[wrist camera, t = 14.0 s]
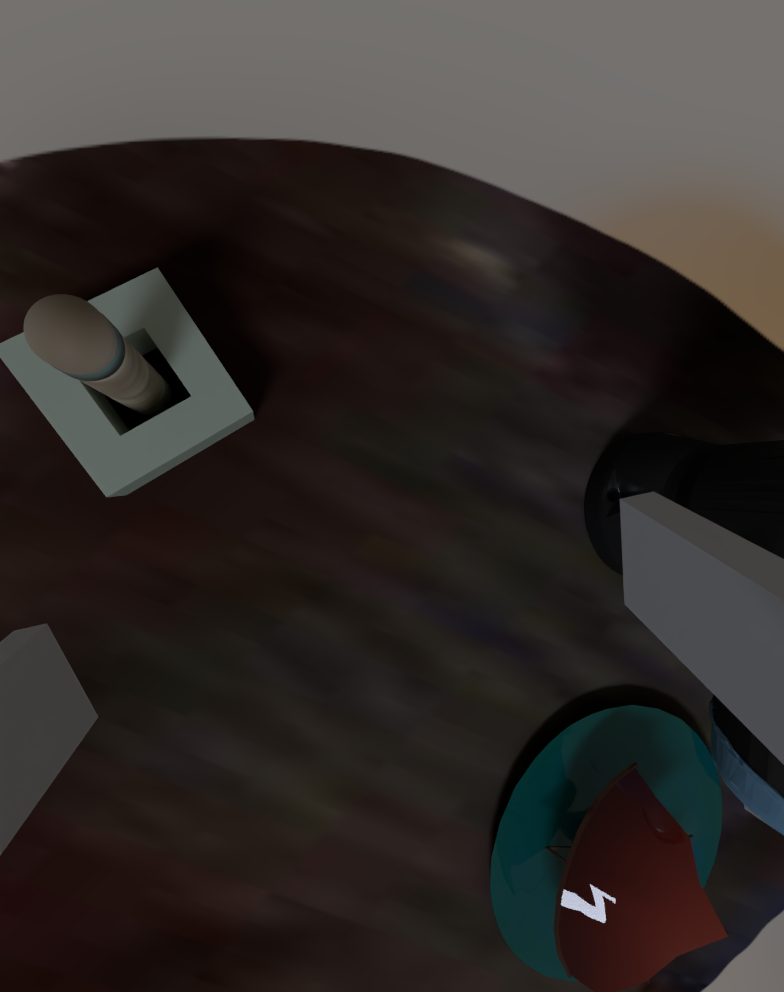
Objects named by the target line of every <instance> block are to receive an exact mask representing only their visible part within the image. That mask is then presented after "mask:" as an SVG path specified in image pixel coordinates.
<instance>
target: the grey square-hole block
mask: <svg viewBox="0 0 784 992" xmlns="http://www.w3.org/2000/svg"><path fill="white" fill-rule="evenodd" d="M87 302H89V303H90V304H92V305H93V306H94V307H95V308H96V309H97V310H98V311H99V312H101V313H102V314H103V315H104V316H105V317H106V318H107V319H108V320H109V321H110V322H111V323H112V324H113V325H114V326H115V327H116V328H117V329H118V331H119V332H120V334H121V335H122V336H123V337H124V338H125V339H126V340H127V341H128V342H129V343H130V344H131V345H132V346H133V347H134V348H135V349H136V350H137V351H138V352H139V353H140V355H141V356H142V355H144V354H146V353H148V352H150V351H152V350H154V349H156V348H159V350H160V351H161V353H162V354H163V356H164V357H165V358H166V360H167V361H168V363H169V364H170V366H171V367H172V369H173V370H174V372H175V373H176V374H177V376H178V377H179V379H180V380H181V382H182V383H183V385H184V386H185V388H186V389H187V390H188V392H189V393H190V395H191V397H189V398H187V399H186V400H184V401H182V402H180V403H178V404H177V405H175V406H173V407H171V408H169V409H168V410H166V411H164V412H162V413H161V414H159V415H157V416H155V417H153V418H152V419H150V420H148V421H146V422H144V423H143V424H141V425H139V426H137V427H135V428H134V429H132V430H129V428H128V427H127V426H126V424H125V423H124V422H123V420H122V419H121V417H120V416H119V415H118V413H117V412H116V411H115V409H114V408H113V406H112V405H111V404H110V402H109V401H108V400H107V398H106V397H105V395H104V394H103V393H101V392H99V391H98V390H96V389H94V388H92V387H90V386H88V385H87V384H85V383H83V382H81V381H79V380H78V379H75V378H72V377H70V376H68V375H66V374H64V373H63V372H61V371H59V370H57V369H55V368H54V367H53V366H51V365H50V364H49V363H47V362H45V361H43V360H42V359H41V358H39V357H38V356H37V355H36V354H35V353H34V352H33V351H32V350H31V348H30V347H29V345H28V343H27V341H26V338H25V335H24V332H23V333H21V334H19V335H17V336H15V337H13V338H11V339H9V340H6V341H4V342H2V343H0V358H1V359H2V360H3V362H4V363H5V364H6V366H7V367H8V368H9V370H10V371H11V372H12V374H13V375H14V376H15V378H16V379H17V380H18V381H19V383H20V384H21V385H22V387H23V388H24V389H25V391H26V392H27V393H28V395H29V396H30V397H31V399H32V400H33V401H34V402H35V404H36V405H37V406H38V408H39V409H40V410H41V412H42V413H43V414H44V416H45V417H46V418H47V420H48V421H49V422H50V424H51V425H52V426H53V427H54V429H55V430H56V431H57V433H58V434H59V435H60V437H61V438H62V439H63V441H64V442H65V443H66V445H67V446H68V447H69V449H70V450H71V451H72V452H73V454H74V455H75V456H76V458H77V459H78V460H79V462H80V463H81V464H82V466H83V467H84V468H85V470H86V471H87V472H88V474H89V475H90V476H91V477H92V479H93V480H94V481H95V483H96V484H97V485H98V487H99V488H100V489H101V491H102V492H103V493H104V495H105V496H106V497H113V496H123V495H127V494H129V493H131V492H132V491H134V490H136V489H138V488H139V487H141V486H143V485H144V484H146V483H148V482H149V481H151V480H153V479H154V478H156V477H158V476H160V475H161V474H163V473H165V472H166V471H168V470H170V469H171V468H173V467H175V466H176V465H178V464H180V463H182V462H183V461H185V460H187V459H188V458H190V457H192V456H193V455H195V454H197V453H198V452H200V451H202V450H204V449H205V448H207V447H209V446H210V445H212V444H214V443H215V442H217V441H219V440H220V439H222V438H224V437H226V436H227V435H229V434H231V433H232V432H234V431H236V430H237V429H239V428H241V427H243V426H244V425H246V424H248V423H249V422H251V421H253V420H254V414H253V410H252V409H251V407H250V406H249V404H248V403H247V401H246V400H245V398H244V397H243V395H242V394H241V392H240V391H239V389H238V388H237V386H236V385H235V383H234V382H233V380H232V379H231V377H230V376H229V374H228V373H227V371H226V370H225V368H224V367H223V365H222V364H221V362H220V361H219V359H218V358H217V356H216V355H215V353H214V352H213V350H212V349H211V347H210V346H209V344H208V343H207V341H206V340H205V338H204V337H203V335H202V334H201V332H200V331H199V329H198V328H197V326H196V325H195V323H194V322H193V320H192V319H191V317H190V316H189V314H188V313H187V311H186V310H185V308H184V307H183V305H182V304H181V302H180V301H179V299H178V298H177V296H176V295H175V293H174V292H173V290H172V289H171V287H170V286H169V284H168V283H167V281H166V280H165V278H164V277H163V275H162V273H161V272H160V270H159V269H158V267H157V268H155V269H153V270H151V271H149V272H147V273H145V274H143V275H141V276H139V277H137V278H135V279H133V280H130V281H128V282H126V283H124V284H122V285H120V286H118V287H116V288H114V289H112V290H110V291H108V292H106V293H104V294H102V295H99V296H97V297H95V298H93V299H91V300H89V301H87Z"/></svg>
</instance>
